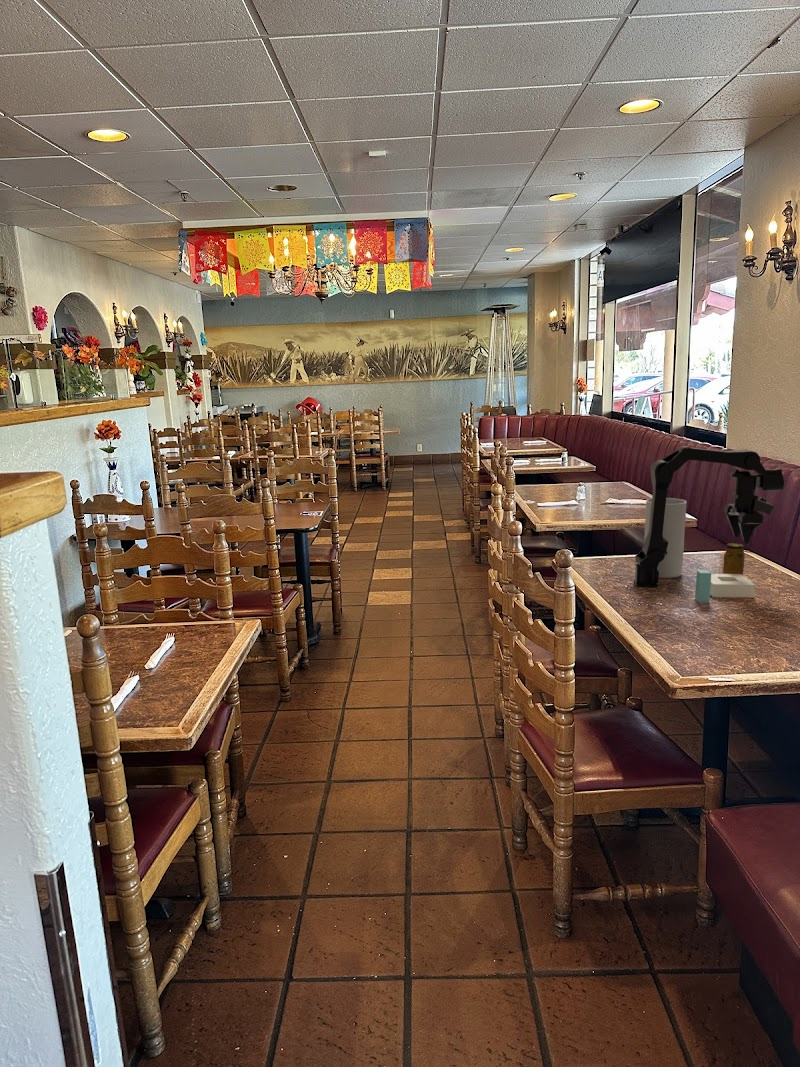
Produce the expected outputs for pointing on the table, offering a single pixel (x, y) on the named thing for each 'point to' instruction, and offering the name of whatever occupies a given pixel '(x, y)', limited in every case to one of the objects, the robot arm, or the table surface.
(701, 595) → the peg
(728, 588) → the socket block
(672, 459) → the robot arm
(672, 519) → the cylinder vase
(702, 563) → the table surface
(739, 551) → the condiment
